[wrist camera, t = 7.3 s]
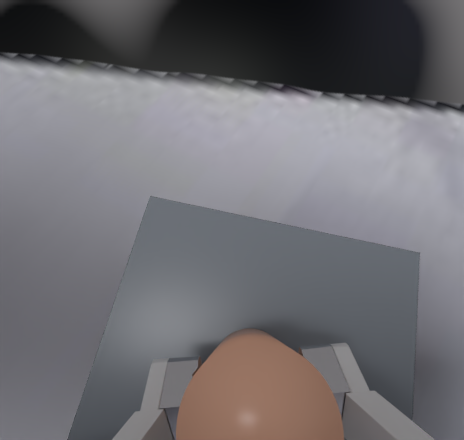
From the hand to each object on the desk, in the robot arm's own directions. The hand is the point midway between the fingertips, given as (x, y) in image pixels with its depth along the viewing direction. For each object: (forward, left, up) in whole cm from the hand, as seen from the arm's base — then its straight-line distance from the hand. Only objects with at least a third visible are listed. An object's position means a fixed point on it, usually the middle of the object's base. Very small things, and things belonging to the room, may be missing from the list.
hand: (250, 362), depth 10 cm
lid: (0, -1, -5) cm, 5 cm away
